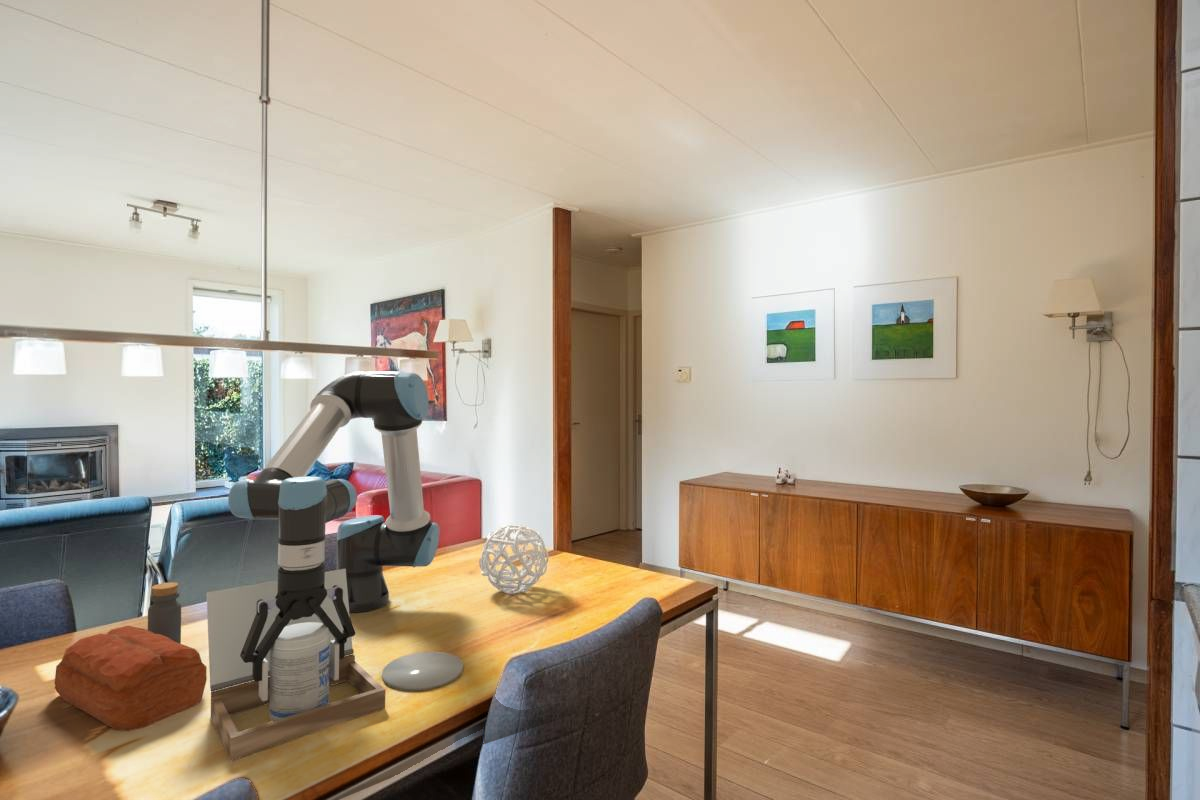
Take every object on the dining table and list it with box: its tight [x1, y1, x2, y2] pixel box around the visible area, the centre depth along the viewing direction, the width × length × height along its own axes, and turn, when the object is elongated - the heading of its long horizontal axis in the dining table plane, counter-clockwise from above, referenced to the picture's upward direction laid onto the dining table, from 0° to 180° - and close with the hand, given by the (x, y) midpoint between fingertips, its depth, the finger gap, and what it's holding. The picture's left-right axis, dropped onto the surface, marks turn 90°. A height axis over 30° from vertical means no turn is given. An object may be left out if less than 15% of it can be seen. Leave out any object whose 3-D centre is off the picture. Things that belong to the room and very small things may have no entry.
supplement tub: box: [269, 622, 330, 722], centre depth 108 cm, size 10×10×15 cm
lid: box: [206, 568, 355, 693], centre depth 116 cm, size 17×24×2 cm
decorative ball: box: [478, 524, 550, 595], centre depth 176 cm, size 20×20×19 cm
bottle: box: [147, 581, 182, 644], centre depth 130 cm, size 6×6×15 cm
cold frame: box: [210, 653, 386, 761], centre depth 108 cm, size 16×24×4 cm
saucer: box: [381, 651, 464, 692], centre depth 125 cm, size 16×16×1 cm
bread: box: [54, 625, 208, 732], centre depth 112 cm, size 16×27×11 cm, turn 61°
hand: (299, 687), depth 108 cm, fingers open, 11 cm apart
